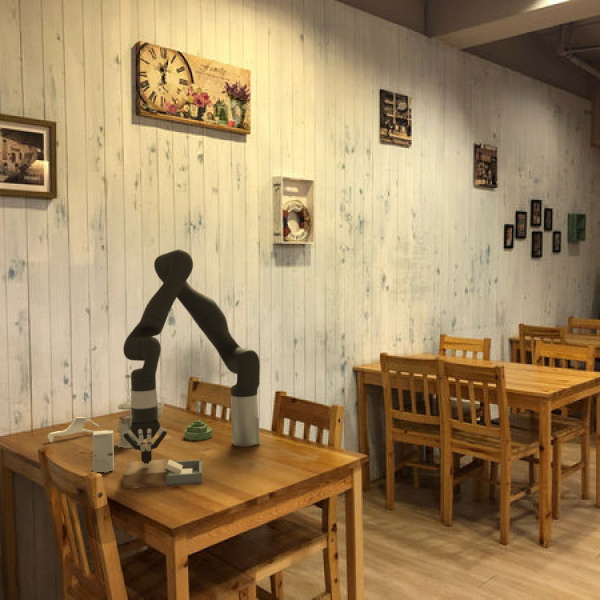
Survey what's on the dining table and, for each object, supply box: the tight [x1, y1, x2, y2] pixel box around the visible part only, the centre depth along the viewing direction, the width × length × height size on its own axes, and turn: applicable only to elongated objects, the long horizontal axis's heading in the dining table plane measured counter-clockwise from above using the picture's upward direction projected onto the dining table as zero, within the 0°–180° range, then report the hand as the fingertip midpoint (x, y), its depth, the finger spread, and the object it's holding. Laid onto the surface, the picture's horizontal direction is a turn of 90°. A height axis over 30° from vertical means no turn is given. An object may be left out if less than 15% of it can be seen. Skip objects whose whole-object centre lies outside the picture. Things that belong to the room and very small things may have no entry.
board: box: [122, 458, 169, 489], centre depth 187 cm, size 12×12×4 cm
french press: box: [116, 373, 140, 449], centre depth 224 cm, size 10×12×25 cm
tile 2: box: [180, 468, 193, 474], centre depth 188 cm, size 4×4×2 cm
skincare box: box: [91, 429, 115, 473], centre depth 197 cm, size 6×4×12 cm
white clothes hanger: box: [47, 416, 102, 444], centre depth 236 cm, size 2×11×18 cm
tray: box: [166, 459, 203, 487], centre depth 189 cm, size 10×13×3 cm
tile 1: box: [165, 458, 183, 474], centre depth 187 cm, size 4×4×2 cm
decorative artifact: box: [183, 417, 213, 441], centre depth 232 cm, size 10×7×10 cm
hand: (146, 462), depth 187 cm, fingers closed
